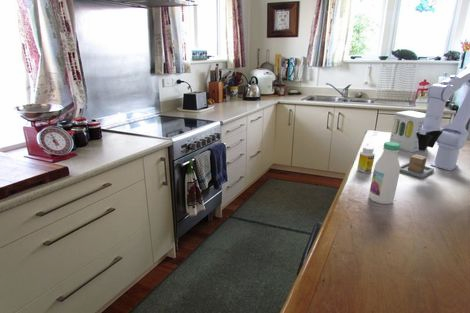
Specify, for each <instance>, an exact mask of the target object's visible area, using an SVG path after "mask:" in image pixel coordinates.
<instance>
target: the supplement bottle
mask: <svg viewBox="0 0 470 313" xmlns="http://www.w3.org/2000/svg"><path fill="white" fill-rule="evenodd" d="M375 157H376V156H375V152H374V147H372V146H369V145H365V146H363V148H362V150H361V151H360V152H359V157H358V163H357V169H356V170H357V171H358V172H359V173H364V174H370V173H371V172H373V171H372V170H373V166H374V160H375Z"/></svg>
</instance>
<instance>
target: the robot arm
mask: <svg viewBox="0 0 470 313" xmlns="http://www.w3.org/2000/svg"><path fill="white" fill-rule="evenodd" d="M464 84H465V85H466V86H467V87H469V88H470V63H468V64H466V65H465V66H464V68H463V71H461V72H460V73H458V74H457V75H454V74H451V75H450V76H449V77H448V78H446V79H445V80H443V81H441V82H439V83H433V84H432V85H430V86H429V87H428V89H427V92H426V96H427V97H426V98H427V99H426V102H427V108H426V112H425V114H426V115H425V119H424V123H423V125H422V129H420V132H417V133H416V135H417V138H418V146H419V150H420V151H421V152H425V151H426V150H427V149H428V147H429V148H432V149H433V148H434V146H435V145H436V143H437V146H438V148H437V151H436V152H437V153H436V156H435V159H434V162H432V163H430V166H432V167H435V168H439V169H442V170H443V169H444V170H447V171H450V172H451V171H452V170H454V169H456V168H457V167H459V164H458V163H457V162H458V158H459V155H460V150H461V149H462V148H464V147H465V145H466V144H467V140H468V137H469V136H470V134H469V132H468V130H467V129H466V126H467V123H468V122H469V120H470V89H469V90H468V91H467V93H466V95H465V97H464V99H463V100H462V103H461V104H460V106H459V108H458V110H457V112H456V114H455V115H454V117H453V119H452V120H451V122H450V123H447V124H445V125H442V124H441V123H442V119H443V115H444V112H445V108H446V105H447V101H449V100H450V99H451V97H452V96H453V95H454V93H455V92H456V91H458V90H460V89H461V88H462V87H463V85H464ZM426 148H427V149H426Z"/></svg>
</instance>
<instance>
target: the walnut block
mask: <svg viewBox="0 0 470 313" xmlns="http://www.w3.org/2000/svg"><path fill="white" fill-rule="evenodd" d="M427 159H428V157H427V156H423V155H420V154H416V153H415V154H413V155H411V156H410V159H409V161H408V162H409V166H408V170H410V171H413V172H416V173H421V172H422V171H424V168H425V166H426V164H427V161H428V160H427Z"/></svg>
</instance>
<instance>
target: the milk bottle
mask: <svg viewBox="0 0 470 313" xmlns="http://www.w3.org/2000/svg"><path fill="white" fill-rule="evenodd" d="M399 152H400V145H399V144H398V143H394V142H390V141H385V142H384V143H383V152H382V153H381V154H380V156H379V158H378V159H377V161H376V162H375V165H374V168H373V171H372V178H371V183H370V187H369V193H368V198H369V200H371V201H373V203H374V202H375V203H377V204H381V205H389V204H390V205H391V204H393V202H394V201H395V200H394V199H395V196H396V195H395V194H396V191H397V186H398V182H399V177H400V174H401V172H400V166H401V164H400V160H399V156H398V153H399Z"/></svg>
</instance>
